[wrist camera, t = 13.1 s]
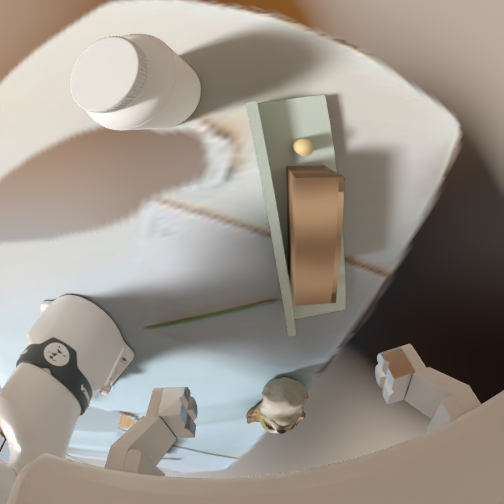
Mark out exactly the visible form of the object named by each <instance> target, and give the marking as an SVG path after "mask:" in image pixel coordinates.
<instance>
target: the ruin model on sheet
mask: <svg viewBox="0 0 504 504" xmlns="http://www.w3.org/2000/svg"><path fill="white" fill-rule="evenodd" d="M135 423H136V422H135V421H133V420H132V419H131V418H129V417H128V416H126V415H123V414H121V418H120V422H119V426H118V429H119V428H131V427H132V426H133V425H134V424H135Z"/></svg>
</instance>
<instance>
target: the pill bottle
mask: <svg viewBox="0 0 504 504" xmlns="http://www.w3.org/2000/svg"><path fill="white" fill-rule="evenodd" d="M70 88H71V93H72V96H73V98H74V100H75V102H76V103H77V104H78V106H80V107H81V108H82V109H84V110H85V111H87V112H88V114H89V115H90V116H91V117H92V118H93V119H94V120H95V121H96V122H97V123H99V124H100V125H102V126H104V127H106V128H109V129H113V130H137V129H164V128H170V127H173V126H176V125H178V124H180V123H182V122H184V121H185V120H186V119H187V118H189V117H190V116H191V114H192V113H193V112H194V111H195V109H196V107H197V105H198V103H199V100H200V96H201V85H200V81H199V78H198V76H197V74H196V73H195V71H194V70H193V69H192V68H191V67H190V66H189V65H188V64H187V63H186V62H185V61H184V60H183V59H182V58H181V57H180V56H178V55H177V54H176V53H175V52H174V51H173V50H172V49H171V48H170V47H169V46H168V45H166V44H165V43H164V42H163V41H161V40H160V39H158V38H156V37H154V36H151V35H146V34H130V35H125V36H122V37H120V36H119V37H118V36H112V37H111V36H110V37H106V38H103V39H100V40H98V41H96V42H95V43H93V44H91V45H90V46H89V47H88V48H87V49H86V50H85V51H84V52H83V53H82V54H81V55H80V56H79V58H78V59H77V61H76V63H75V65H74V67H73V70H72V74H71V79H70Z"/></svg>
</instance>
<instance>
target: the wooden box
mask: <svg viewBox="0 0 504 504" xmlns="http://www.w3.org/2000/svg"><path fill="white" fill-rule="evenodd" d="M286 178H287V225H288V274H289V279H290V284H291V288H292V293H293V298H294V303H295V306H301V305H316V304H329V303H336V296H337V287H338V277H339V267H340V255H341V242H342V226H343V206H344V177H343V176H341V175H339V174H338V173H336V172H334V171H333V170H331V169H329V168H328V167H326V166H286Z"/></svg>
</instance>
